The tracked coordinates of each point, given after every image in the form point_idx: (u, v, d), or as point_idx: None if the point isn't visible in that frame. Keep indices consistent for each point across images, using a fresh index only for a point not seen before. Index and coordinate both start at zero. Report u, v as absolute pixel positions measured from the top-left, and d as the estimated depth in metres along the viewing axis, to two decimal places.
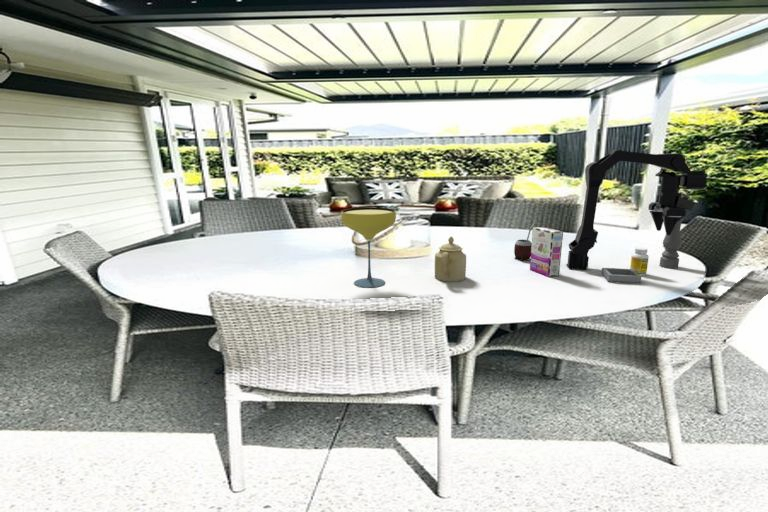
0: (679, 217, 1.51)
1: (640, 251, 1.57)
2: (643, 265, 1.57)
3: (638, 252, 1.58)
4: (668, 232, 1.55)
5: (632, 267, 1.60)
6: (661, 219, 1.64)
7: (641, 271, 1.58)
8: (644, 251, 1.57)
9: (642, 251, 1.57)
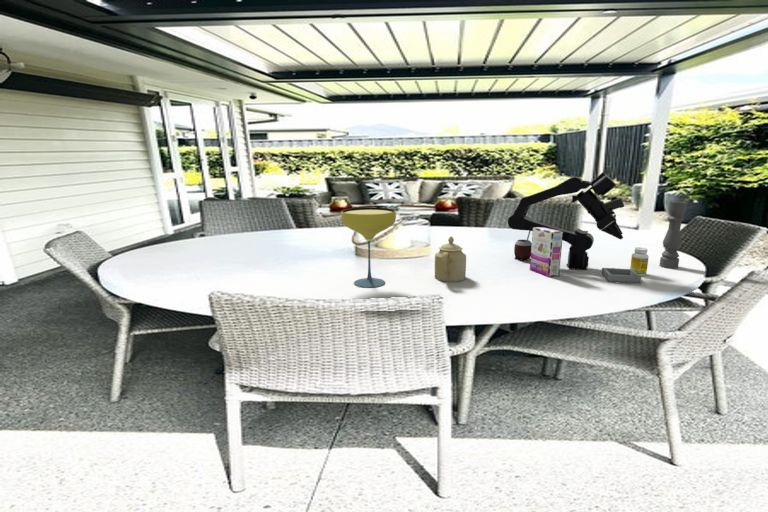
0: (612, 223, 1.54)
1: (640, 251, 1.57)
2: (643, 265, 1.57)
3: (638, 252, 1.58)
4: (619, 237, 1.57)
5: (632, 267, 1.60)
6: None
7: (641, 271, 1.58)
8: (644, 251, 1.57)
9: (642, 251, 1.57)
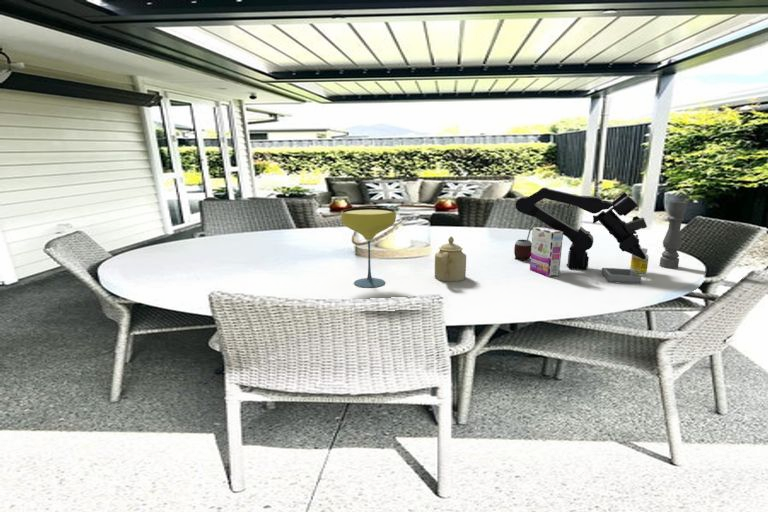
0: (635, 243, 1.54)
1: None
2: (644, 265, 1.57)
3: None
4: (642, 257, 1.56)
5: (632, 267, 1.60)
6: None
7: (641, 271, 1.58)
8: (644, 251, 1.57)
9: None
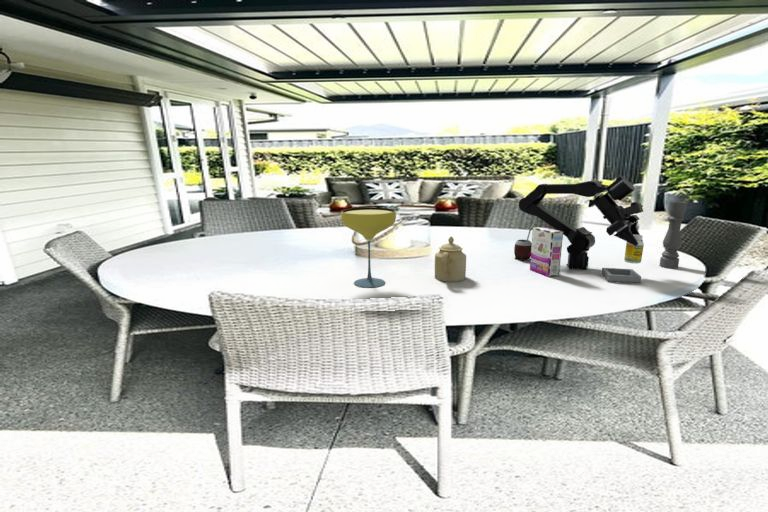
0: (624, 228, 1.50)
1: None
2: (636, 252, 1.53)
3: None
4: (634, 243, 1.52)
5: (625, 254, 1.56)
6: (634, 232, 1.57)
7: (634, 259, 1.53)
8: (637, 238, 1.52)
9: (635, 238, 1.52)
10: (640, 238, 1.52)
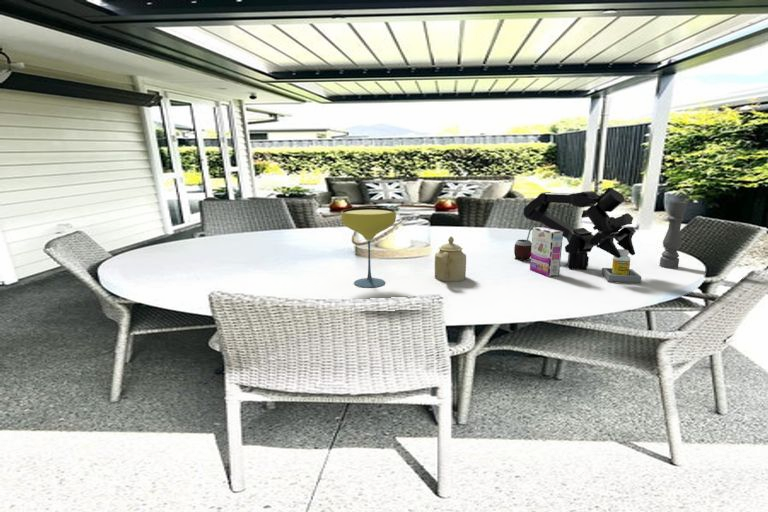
0: (605, 239, 1.50)
1: None
2: (620, 267, 1.52)
3: None
4: (616, 255, 1.50)
5: (612, 269, 1.55)
6: (627, 244, 1.55)
7: (618, 274, 1.53)
8: (621, 253, 1.51)
9: None
10: (625, 253, 1.51)
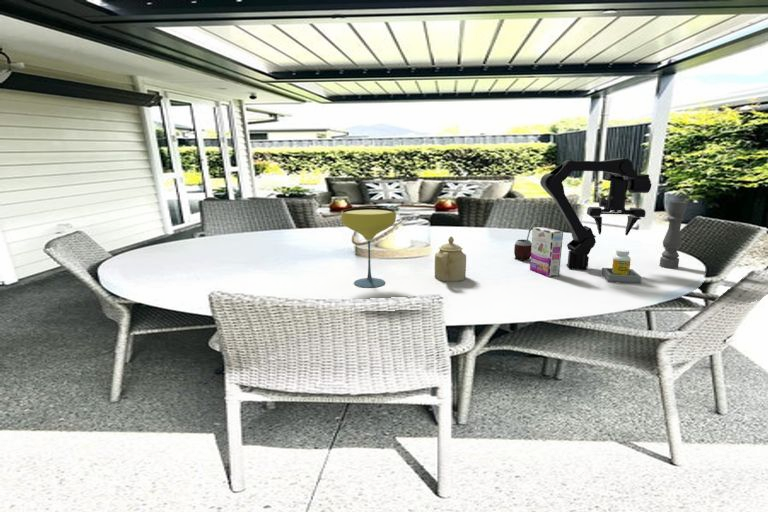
0: None
1: (618, 253, 1.52)
2: (620, 267, 1.52)
3: (617, 253, 1.53)
4: None
5: (612, 269, 1.55)
6: None
7: (618, 274, 1.53)
8: (622, 253, 1.51)
9: (620, 253, 1.52)
10: (625, 253, 1.51)
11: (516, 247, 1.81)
